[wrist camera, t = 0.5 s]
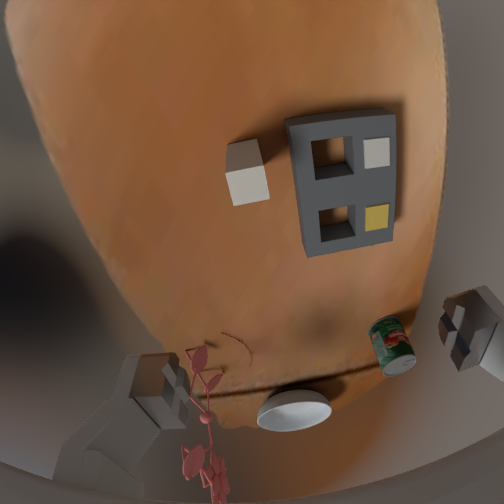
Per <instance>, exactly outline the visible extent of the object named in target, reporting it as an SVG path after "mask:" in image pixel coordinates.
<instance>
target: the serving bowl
mask: <svg viewBox="0 0 504 504" xmlns="http://www.w3.org/2000/svg"><path fill="white" fill-rule="evenodd" d="M331 412H332V408H331V405H330V403H329V401H328V400H327V399H326V398H325V397H324V396H323V395H321V394H320V393H318V392H315V391H311V390H291V391H286V392H282V393H279V394H277V395H274V396H272V397H271V398H269V399H268V400H266V401H265V402H264V403H263V405H262V406H261V407H260V409H259V412H258V417H257V423H258V425H259V426H261V427H262V428H264V429H268V430H272V431H293V430H299V429H304V428H308V427H311V426H313V425H316V424H318V423H320V422H322V421H324V420H325V419H326V418H328V417H329V415H330V414H331Z"/></svg>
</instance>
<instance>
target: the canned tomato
mask: <svg viewBox="0 0 504 504" xmlns="http://www.w3.org/2000/svg"><path fill="white" fill-rule="evenodd" d="M368 334H369V336H370V338H371V341H372V344H373V347H374V350H375V352H376V355H377V358H378V361H379V364H380V366H381V369H382V372H383V374H384V375H385V376H396V375H399V374H401V373H404V372H405V371H407V370H409V369H410V368H411V367H412V366H413V365H414V364H415V363H416V360H417V358H416V356H415V354H414V351H413V349H412V347H411V345H410V342H409V340H408V338H407V336H406V333H405V331H404V329H403V327H402V325H401V323H400V320H399V319H398V318H397V317H395V316H388V317H384V318H381V319H379V320H378V321H376V322H375V323H374V324H373V325H372V326H371V327H370V329H369V332H368Z"/></svg>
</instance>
